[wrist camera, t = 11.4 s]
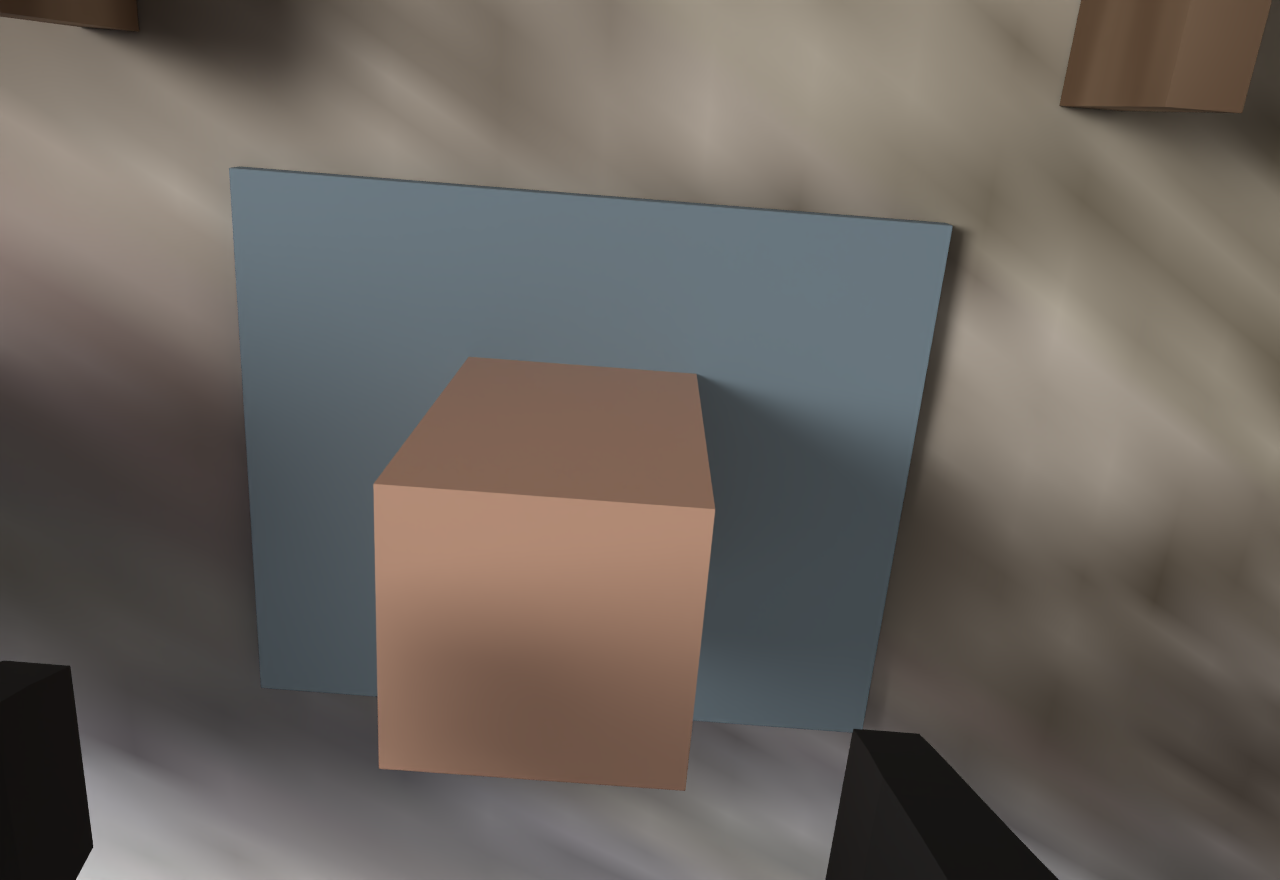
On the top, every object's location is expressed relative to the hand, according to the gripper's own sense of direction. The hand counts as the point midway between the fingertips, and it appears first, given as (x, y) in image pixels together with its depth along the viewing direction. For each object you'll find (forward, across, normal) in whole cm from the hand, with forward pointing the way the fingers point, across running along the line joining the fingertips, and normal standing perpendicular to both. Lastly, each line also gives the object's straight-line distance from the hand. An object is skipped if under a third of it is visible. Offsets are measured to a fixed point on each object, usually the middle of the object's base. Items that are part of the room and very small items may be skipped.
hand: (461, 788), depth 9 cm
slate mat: (+9, 0, 0) cm, 9 cm away
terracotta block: (+9, 0, 0) cm, 9 cm away
